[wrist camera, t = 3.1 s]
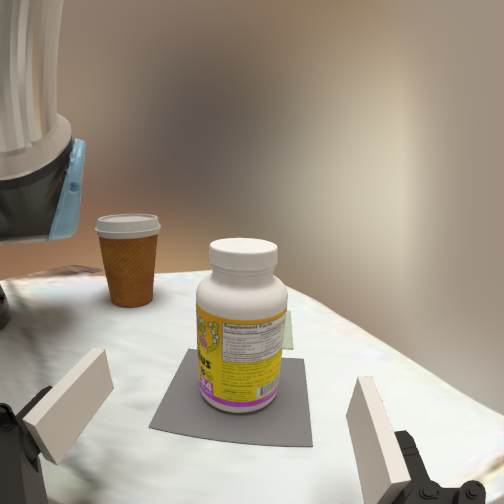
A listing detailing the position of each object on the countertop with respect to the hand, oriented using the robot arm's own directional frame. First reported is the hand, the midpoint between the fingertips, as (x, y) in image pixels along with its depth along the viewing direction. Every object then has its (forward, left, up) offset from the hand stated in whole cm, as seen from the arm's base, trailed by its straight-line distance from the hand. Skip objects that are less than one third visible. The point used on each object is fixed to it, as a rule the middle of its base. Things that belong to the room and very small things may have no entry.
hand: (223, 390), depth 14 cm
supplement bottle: (0, +9, -8) cm, 11 cm away
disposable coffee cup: (-18, +26, -8) cm, 32 cm away
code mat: (0, +9, -7) cm, 11 cm away
